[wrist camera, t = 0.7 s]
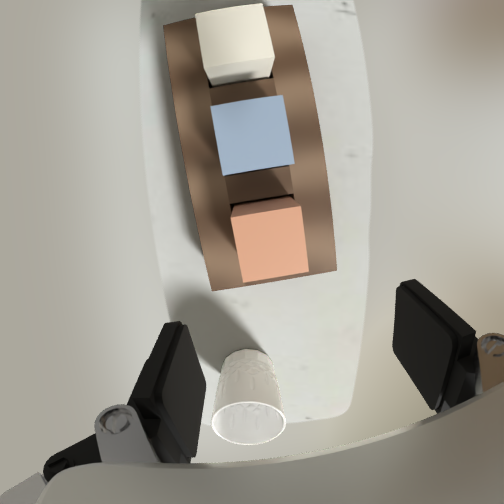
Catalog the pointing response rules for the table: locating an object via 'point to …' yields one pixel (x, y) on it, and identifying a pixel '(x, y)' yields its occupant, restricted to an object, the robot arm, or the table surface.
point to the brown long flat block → (256, 181)
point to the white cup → (248, 400)
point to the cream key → (235, 44)
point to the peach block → (269, 238)
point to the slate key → (252, 134)
